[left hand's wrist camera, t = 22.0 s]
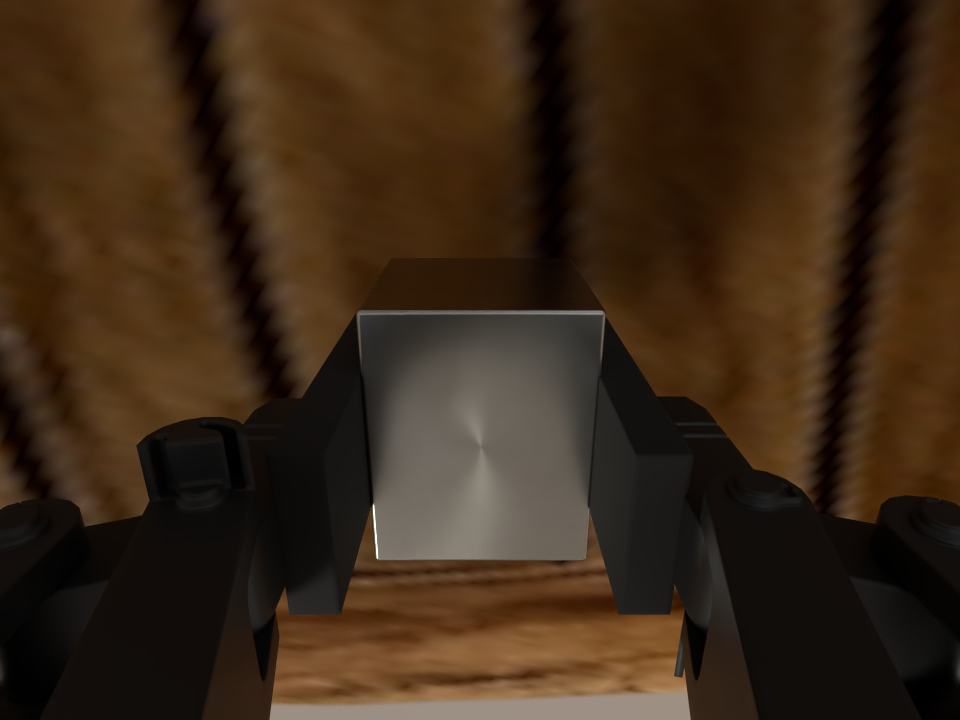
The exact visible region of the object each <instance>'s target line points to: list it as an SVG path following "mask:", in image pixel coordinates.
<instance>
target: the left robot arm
mask: <svg viewBox="0 0 960 720" xmlns="http://www.w3.org/2000/svg"><path fill="white" fill-rule="evenodd" d="M137 450H138V454H139V458H140V463H141V467H142V471H143V475H144V479H145V483H146V487H147V492H148V496H149V500H150V501H149V503H148V505H147V507H146V509H145V511H144V513H143V515H141V516H137V517H133V518H129V519H124V520H118V521H113V522H108V523H102V524H97V525H92V526H86V527H85V526H84V522H83V519H82V515H81V512H80V509H79V507H78V506H76V505H75V504H74V503H72V502H71V501H68V500H62V499H55V498H52V499H41V500H28V501H23V502H22V503H20V504H19V502H18V503H15V504H12V505H8V506H6V507H4V508H2V509H1V510H0V720H269V718H270V710H271V702H272V694H273V685H274V677H275V669H276V661H277V652H278V644H279V631H278V624H277V618H276V612H275V609H276V607H277V604H278V602H279V600H280V597H281V595H282V593H283V590H284V588H285V587H286V594H287V600H288V607H289V613H290V614H341V611H342V608H343V604H344V600H345V597H346V593H347V590H348V586H349V583H350V579H351V576H352V572H353V568H354V565H355V561H356V558H357V554H358V551H359V547H360V543H361V540H362V536H363V533H364V529H365V526H366V522H367V519H368V515H369V511H370V508H371V498H370V485H369V473H368V460H367V447H366V435H365V422H364V409H363V397H362V384H361V371H360V359H359V346H358V333H357V321H356V314H355V316H354V317H353V319H352V320H351V322H350V323H349V325H348V327H347V328H346V330H345V331H344V333H343V334H342V336H341V338H340V339H339V341H338V342H337V344H336V345H335V347H334V349H333V350H332V352H331V353H330V355H329V356H328V358H327V359H326V361H325V363H324V364H323V366H322V367H321V369H320V370H319V372H318V374H317V375H316V377H315V378H314V380H313V381H312V383H311V384H310V386H309V388H308V389H307V391H306V392H305V394H304V395H303V397H302V399H273V400H271V401H270V402H268V403H266V404H265V405H263V406H261V407H260V408H258V409H256V410H255V411H253V413H252V414H251V415H250V417H249V418H248V419H247V420H246V422H245V423H244V424H241V423H240V422H238V421H237V420H233V419H228V418H224V417H202V418H196V419H190V420H184V421H180V422H177V423H174V424H171V425H168V426H165V427H162V428H160V429H158V430H156V431H155V432H153V433H151V434H149V435H147V436H146V437H145V438H144V439H143V440H142V441H141V442H140V443H139V444H138V445H137ZM589 509H590V513H591V517H592V520H593V524H594V527H595V531H596V534H597V538H598V542H599V545H600V549H601V552H602V556H603V559H604V563H605V566H606V570H607V574H608V577H609V581H610V584H611V588H612V591H613V595H614V599H615V602H616V606H617V609H618V613H619V614H670V610H671V604H672V597H673V591H674V584H675V586H676V588H677V591H678V593H679V595H680V598H681V600H682V602H683V605H684V607H685V612H684V618H683V624H682V630H681V637H680V643H679V649H678V655H677V661H676V668H675V674H674V676H676V677H682V676H683V671H684V667H685V676H686V684H687V692H688V700H689V709H690V717H691V720H960V507H959V506H958V505H957V504H955V503H952V502H949V501H945V500H941V501H940V500H939V499H937V498H932V497H918V496H907V495H906V496H899V497H893V498H889V499H888V500H887V501H885V502H884V503H883V504H881V506H880V510H879V513H878V517H877V520H876V524H872V523H867V522H861V521H856V520H851V519H845V518H840V517H834V516H830V515H825V514H821V513H817V512H816V510H815V508H814V506H813V504H812V502H811V500H810V499H809V498H808V497H807V495H806V494H805V493H804V492H803V491H802V489H800V488H799V487H797V486H796V485H794V484H793V483H791V482H789V481H788V480H786V479H784V478H781V477H779V476H776V475H774V474H771V473H768V472H765V471H760V470H755V469H753V468H752V467H751V466H750V465H749V463H748V462H747V461H746V459H745V458H744V457H743V456H742V454H741V453H740V452H739V450H738V449H737V448H736V447H735V445H734V444H733V443H732V442H731V440H730V439H729V438H726V434H725V433H724V431H723V430H722V429H721V427H720V426H717V422H716V421H715V420H714V419H713V417H712V416H711V415H710V413H709V412H708V411H707V410H706V409H705V408H704V407H702V406H700V405H699V404H697V403H695V402H694V401H692V400H690V399H689V398H687V397H657V396H656V395H655V393H654V391H653V390H652V388H651V387H650V385H649V384H648V382H647V381H646V379H645V377H644V376H643V374H642V373H641V371H640V370H639V368H638V366H637V365H636V363H635V362H634V360H633V359H632V357H631V356H630V354H629V352H628V351H627V349H626V348H625V346H624V345H623V343H622V341H621V340H620V338H619V337H618V335H617V334H616V332H615V330H614V329H613V327H612V326H611V324H610V323H609V321H608V320H607V318H606V319H605V332H604V344H603V356H602V369H601V375H600V377H599V389H598V402H597V414H596V427H595V439H594V452H593V464H592V477H591V489H590V502H589Z"/></svg>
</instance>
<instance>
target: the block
mask: <svg viewBox="0 0 960 720" xmlns="http://www.w3.org/2000/svg"><path fill="white" fill-rule="evenodd" d="M605 319H606V312H605V310H604V309H603V307H602V305H601V304H600V302H599V301H598V299H597V298H596V296H595V295H594V293H593V292H592V290H591V289H590V287H589V286H588V284H587V283H586V281H585V280H584V278H583V277H582V275H581V274H580V272H579V271H578V269H577V267H576V266H575V264H574V263H573V261H572V260H571V259H569V258H392V259H390V261H389V262H388V264H387V265H386V267H385V268H384V270H383V271H382V273H381V274H380V276H379V278H378V279H377V281H376V282H375V284H374V285H373V287H372V288H371V290H370V291H369V293H368V294H367V296H366V297H365V299H364V301H363V302H362V304H361V305H360V307H359V308H358V310H357V312H356V321H357V333H358V346H359V359H360V371H361V384H362V397H363V409H364V422H365V435H366V447H367V460H368V473H369V485H370V498H371V511H372V524H373V536H374V549H375V557H376V559H377V560H585V558H586V553H587V541H588V529H589V517H590V509H589V502H590V489H591V477H592V464H593V452H594V439H595V427H596V414H597V402H598V389H599V377H600V375H601V369H602V356H603V344H604V332H605Z"/></svg>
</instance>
